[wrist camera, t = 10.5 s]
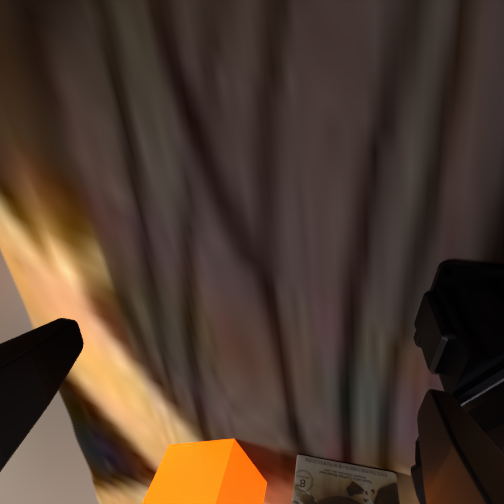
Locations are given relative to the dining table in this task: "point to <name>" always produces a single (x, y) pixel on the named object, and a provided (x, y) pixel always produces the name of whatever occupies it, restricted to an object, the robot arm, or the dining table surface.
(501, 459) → the robot arm
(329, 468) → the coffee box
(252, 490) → the orange juice
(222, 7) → the dining table surface
